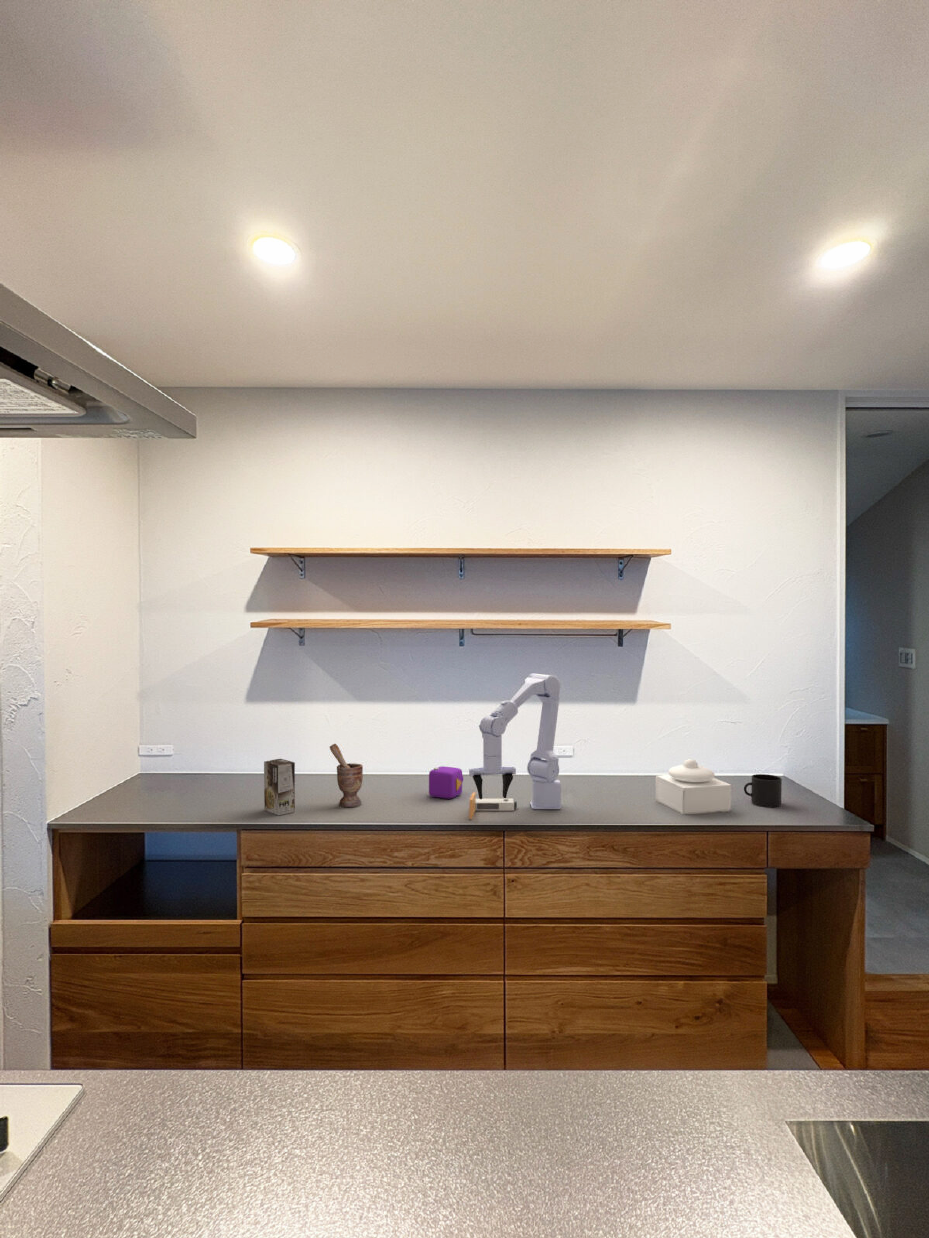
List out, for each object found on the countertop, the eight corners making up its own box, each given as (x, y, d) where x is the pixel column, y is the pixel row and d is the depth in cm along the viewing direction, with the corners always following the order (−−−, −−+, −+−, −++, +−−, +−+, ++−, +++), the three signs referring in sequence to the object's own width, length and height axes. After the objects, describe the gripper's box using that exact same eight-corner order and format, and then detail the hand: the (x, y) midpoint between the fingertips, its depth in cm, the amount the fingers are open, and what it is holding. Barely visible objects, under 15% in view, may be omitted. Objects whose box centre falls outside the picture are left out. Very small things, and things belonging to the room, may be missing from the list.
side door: (473, 810, 238) (473, 791, 238) (475, 810, 238) (475, 791, 238) (469, 818, 228) (469, 799, 228) (472, 818, 228) (472, 799, 228)
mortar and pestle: (325, 807, 241) (325, 747, 240) (331, 800, 250) (331, 742, 249) (359, 808, 240) (360, 747, 240) (364, 801, 249) (364, 742, 249)
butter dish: (700, 797, 257) (700, 752, 256) (731, 811, 239) (732, 763, 239) (655, 800, 252) (655, 754, 252) (683, 815, 235) (684, 765, 234)
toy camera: (467, 791, 263) (467, 763, 263) (456, 800, 250) (456, 771, 250) (438, 788, 266) (438, 761, 266) (426, 798, 253) (426, 769, 253)
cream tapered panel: (515, 806, 244) (515, 797, 243) (517, 810, 238) (517, 801, 238) (473, 806, 243) (473, 797, 243) (474, 810, 238) (474, 801, 238)
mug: (740, 799, 254) (741, 773, 254) (777, 800, 252) (777, 774, 252) (746, 806, 245) (746, 779, 245) (784, 808, 243) (784, 781, 243)
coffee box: (295, 812, 236) (295, 762, 235) (277, 816, 231) (277, 765, 231) (281, 806, 242) (281, 757, 242) (263, 810, 238) (263, 760, 237)
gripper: (512, 751, 234) (512, 793, 234) (467, 752, 231) (467, 795, 232) (517, 755, 227) (517, 799, 227) (471, 757, 224) (471, 801, 225)
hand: (492, 797), depth 229 cm, fingers open, 7 cm apart
